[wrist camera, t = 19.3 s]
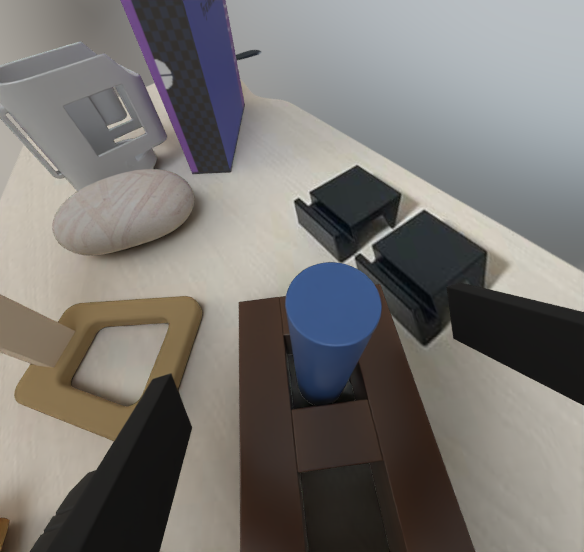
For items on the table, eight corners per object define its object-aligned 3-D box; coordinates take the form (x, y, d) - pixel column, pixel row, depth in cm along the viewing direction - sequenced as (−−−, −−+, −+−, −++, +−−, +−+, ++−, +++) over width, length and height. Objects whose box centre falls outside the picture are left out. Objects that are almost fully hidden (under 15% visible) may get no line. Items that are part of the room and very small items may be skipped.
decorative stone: (195, 187, 32) (178, 147, 28) (208, 240, 27) (190, 201, 23) (81, 218, 30) (44, 179, 26) (73, 281, 25) (26, 246, 21)
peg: (300, 409, 18) (290, 353, 8) (294, 361, 20) (281, 267, 10) (347, 403, 18) (395, 339, 8) (337, 356, 20) (366, 256, 10)
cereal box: (215, 106, 43) (133, -196, 23) (244, 104, 43) (188, -202, 23) (192, 173, 33) (17, -247, 13) (230, 172, 33) (111, -258, 13)
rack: (259, 666, 12) (241, 744, 9) (249, 325, 22) (238, 301, 18) (469, 632, 12) (527, 697, 9) (369, 309, 22) (380, 283, 18)
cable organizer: (181, 163, 35) (130, 45, 25) (88, 215, 30) (-22, 95, 20) (155, 145, 37) (100, 32, 27) (66, 189, 33) (-40, 74, 23)
